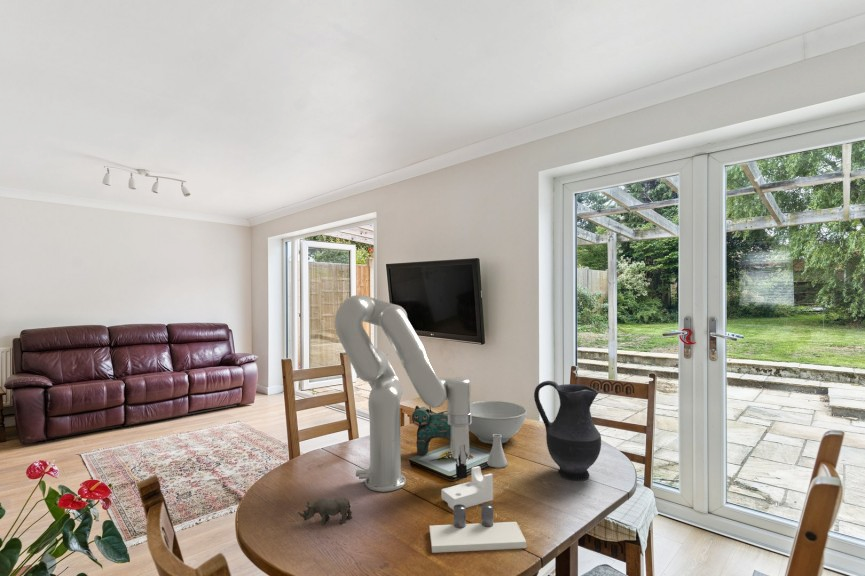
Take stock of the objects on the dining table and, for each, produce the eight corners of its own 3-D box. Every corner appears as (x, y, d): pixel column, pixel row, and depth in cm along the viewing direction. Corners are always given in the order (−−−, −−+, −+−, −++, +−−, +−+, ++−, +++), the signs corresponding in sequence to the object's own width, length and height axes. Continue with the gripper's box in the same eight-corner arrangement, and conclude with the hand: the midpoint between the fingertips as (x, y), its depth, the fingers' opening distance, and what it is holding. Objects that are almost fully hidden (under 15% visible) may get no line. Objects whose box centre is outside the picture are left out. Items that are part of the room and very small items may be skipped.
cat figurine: (411, 455, 163) (411, 400, 163) (417, 449, 169) (417, 396, 169) (464, 461, 156) (463, 404, 157) (468, 455, 163) (468, 400, 163)
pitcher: (602, 489, 134) (601, 389, 134) (532, 480, 141) (531, 385, 141) (600, 467, 150) (599, 378, 150) (537, 460, 157) (536, 375, 157)
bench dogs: (454, 534, 110) (454, 510, 110) (453, 528, 113) (452, 504, 113) (494, 533, 110) (494, 508, 110) (492, 526, 113) (492, 502, 113)
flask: (507, 469, 150) (507, 439, 150) (486, 467, 151) (485, 438, 151) (508, 461, 157) (508, 432, 157) (487, 459, 158) (487, 431, 158)
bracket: (478, 491, 134) (478, 466, 134) (493, 500, 128) (492, 474, 128) (441, 501, 128) (441, 475, 128) (454, 512, 122) (454, 484, 122)
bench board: (432, 552, 102) (432, 546, 102) (429, 531, 111) (429, 525, 111) (526, 548, 104) (526, 541, 104) (516, 527, 113) (516, 521, 113)
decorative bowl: (536, 435, 184) (536, 405, 184) (512, 455, 162) (511, 422, 162) (478, 425, 199) (478, 397, 199) (448, 442, 176) (447, 412, 176)
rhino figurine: (299, 519, 118) (299, 496, 118) (352, 515, 119) (352, 493, 120) (296, 527, 114) (296, 504, 114) (351, 523, 115) (351, 500, 115)
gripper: (445, 412, 146) (447, 468, 146) (450, 426, 131) (452, 488, 131) (467, 411, 147) (469, 466, 147) (475, 424, 132) (477, 486, 132)
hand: (461, 476), depth 139 cm, fingers closed
